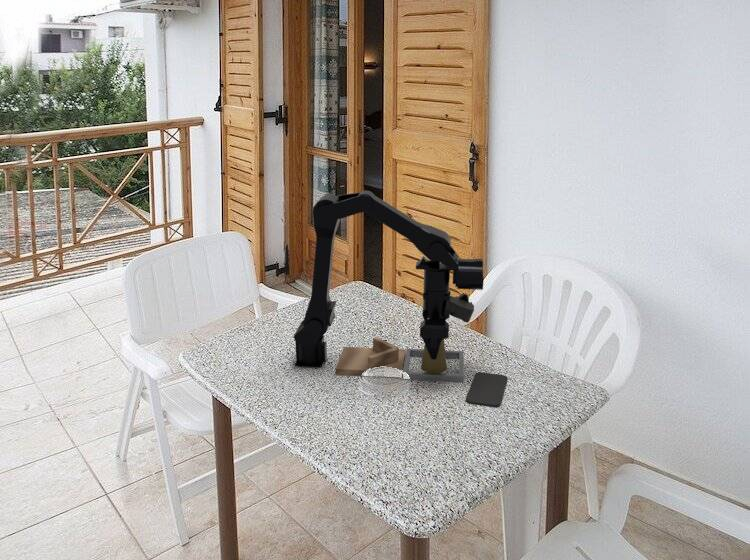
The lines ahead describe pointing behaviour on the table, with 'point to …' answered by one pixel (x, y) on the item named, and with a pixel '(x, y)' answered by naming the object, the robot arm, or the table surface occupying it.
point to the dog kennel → (370, 358)
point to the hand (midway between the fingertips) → (434, 351)
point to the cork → (434, 361)
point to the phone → (487, 389)
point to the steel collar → (435, 376)
